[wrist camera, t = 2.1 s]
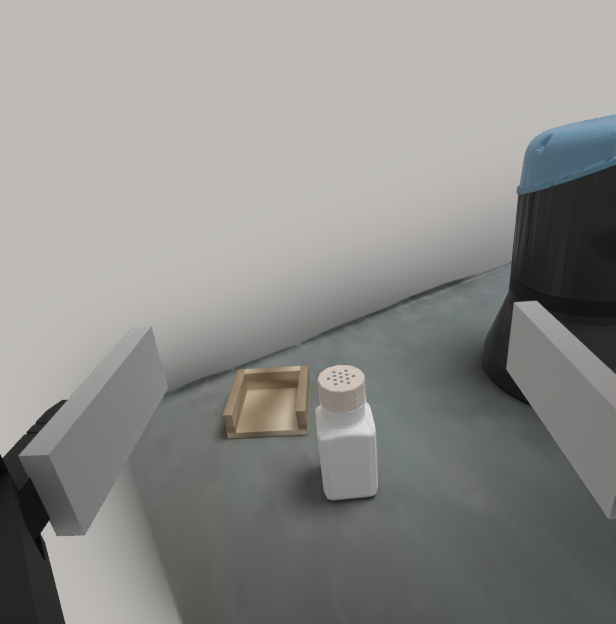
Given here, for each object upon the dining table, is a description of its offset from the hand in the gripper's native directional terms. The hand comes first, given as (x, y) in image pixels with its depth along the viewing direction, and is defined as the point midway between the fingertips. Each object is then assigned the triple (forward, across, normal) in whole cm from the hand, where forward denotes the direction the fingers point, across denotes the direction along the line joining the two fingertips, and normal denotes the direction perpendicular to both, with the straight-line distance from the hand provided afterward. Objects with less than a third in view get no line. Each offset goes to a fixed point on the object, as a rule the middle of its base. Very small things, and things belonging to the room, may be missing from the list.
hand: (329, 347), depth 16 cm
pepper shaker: (+11, 0, -18) cm, 21 cm away
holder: (+20, -7, -18) cm, 28 cm away
